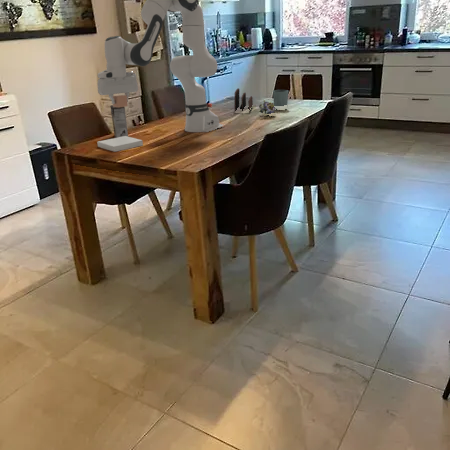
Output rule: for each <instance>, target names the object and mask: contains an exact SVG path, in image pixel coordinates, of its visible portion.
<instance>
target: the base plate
mask: <svg viewBox="0 0 450 450" xmlns="http://www.w3.org/2000/svg"><path fill="white" fill-rule="evenodd" d="M96 143H97V147H98V148H101V149H104V150H107V151H111V152H120V151H125V150H129V149H133V148H137V147H143V146H144V142H143V140H142V139H140V138H136V137H132V136H129V135H128V136H122V137H117V138H116V137H114V138H108V139H104V140H99V141H97V142H96Z"/></svg>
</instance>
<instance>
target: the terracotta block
mask: <svg viewBox="0 0 450 450" xmlns="http://www.w3.org/2000/svg"><path fill="white" fill-rule="evenodd" d="M113 98H114V100H116V104H112V105H113V107H125V108H126V107H128V106H129V105H128V102H127V96H126V95H125V94H124V95H123V94H118V95H117V94H116V95H114V96H113Z"/></svg>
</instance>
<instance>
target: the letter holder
mask: <svg viewBox="0 0 450 450" xmlns="http://www.w3.org/2000/svg"><path fill="white" fill-rule="evenodd" d="M240 100H241V104H240ZM247 101H248V106H249V107H248V109H249V110H250V108H251V107H252V105H253V106H254V103H253V102H254V101H253V96H252V95H251V96H249V99H248V100H247V93H246V92H243V93H242V95H241V99H240V88H237V89H236V90H235V91H234V101H233V102H234V112H235V111H236V110H237V108H238V107H239V106H240V109H242V111H243V109H244V107H245V106H247Z"/></svg>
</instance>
